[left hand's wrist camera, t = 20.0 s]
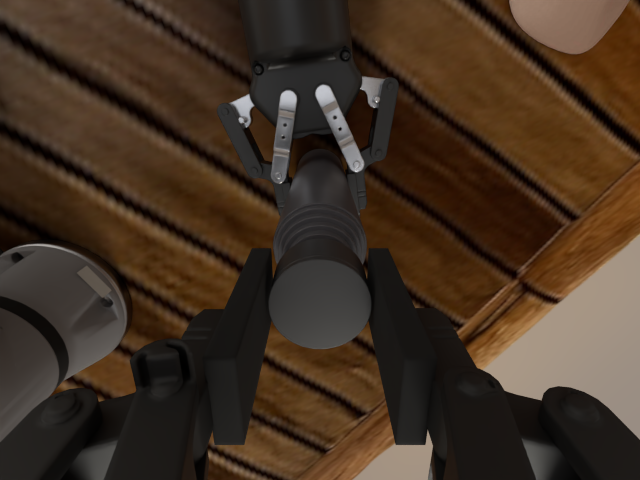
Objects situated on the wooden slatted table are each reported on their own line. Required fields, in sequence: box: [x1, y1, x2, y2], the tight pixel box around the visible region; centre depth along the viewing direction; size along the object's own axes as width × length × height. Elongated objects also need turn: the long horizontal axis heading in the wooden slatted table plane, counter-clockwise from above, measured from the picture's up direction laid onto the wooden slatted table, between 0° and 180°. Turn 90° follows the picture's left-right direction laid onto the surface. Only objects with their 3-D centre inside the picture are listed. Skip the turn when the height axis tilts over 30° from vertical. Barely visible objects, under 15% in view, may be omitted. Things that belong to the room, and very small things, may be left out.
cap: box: [268, 238, 372, 349], centre depth 14 cm, size 4×4×2 cm
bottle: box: [273, 149, 367, 264], centre depth 25 cm, size 5×5×25 cm
